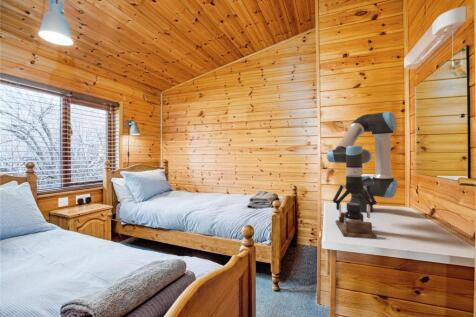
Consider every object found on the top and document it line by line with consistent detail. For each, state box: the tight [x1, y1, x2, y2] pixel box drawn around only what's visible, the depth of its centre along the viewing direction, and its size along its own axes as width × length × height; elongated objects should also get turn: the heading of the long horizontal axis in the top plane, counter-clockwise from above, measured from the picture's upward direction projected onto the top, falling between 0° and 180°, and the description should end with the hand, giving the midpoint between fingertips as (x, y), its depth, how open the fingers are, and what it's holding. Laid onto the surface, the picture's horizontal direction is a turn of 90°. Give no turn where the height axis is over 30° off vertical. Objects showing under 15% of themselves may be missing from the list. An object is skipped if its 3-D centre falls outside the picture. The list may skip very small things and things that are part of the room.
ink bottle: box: [344, 201, 365, 225], centre depth 120 cm, size 10×9×12 cm
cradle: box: [335, 211, 377, 240], centre depth 120 cm, size 14×22×6 cm, turn 167°
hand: (353, 217), depth 120 cm, fingers open, 13 cm apart
